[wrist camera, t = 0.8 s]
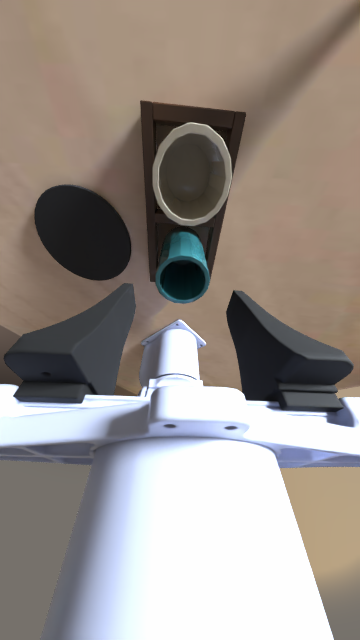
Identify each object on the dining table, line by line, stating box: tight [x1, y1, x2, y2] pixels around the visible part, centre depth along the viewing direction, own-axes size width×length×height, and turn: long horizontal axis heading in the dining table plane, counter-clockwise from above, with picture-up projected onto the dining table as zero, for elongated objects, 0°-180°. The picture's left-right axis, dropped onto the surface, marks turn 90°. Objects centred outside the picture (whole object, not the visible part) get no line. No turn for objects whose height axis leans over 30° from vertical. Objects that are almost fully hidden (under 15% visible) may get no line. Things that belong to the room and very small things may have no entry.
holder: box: [140, 100, 246, 283], centre depth 17 cm, size 7×14×2 cm, turn 176°
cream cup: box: [152, 122, 232, 226], centre depth 13 cm, size 4×4×8 cm
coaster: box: [35, 185, 131, 280], centre depth 19 cm, size 10×10×1 cm
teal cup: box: [155, 226, 210, 304], centre depth 17 cm, size 4×4×8 cm
